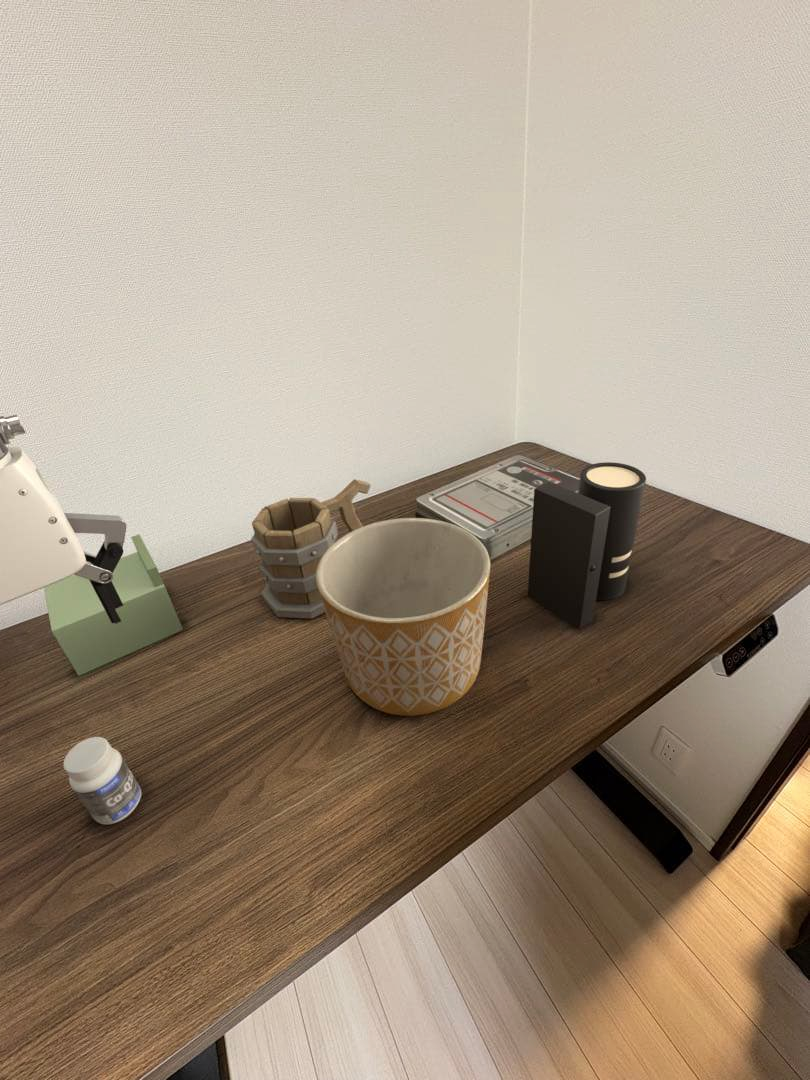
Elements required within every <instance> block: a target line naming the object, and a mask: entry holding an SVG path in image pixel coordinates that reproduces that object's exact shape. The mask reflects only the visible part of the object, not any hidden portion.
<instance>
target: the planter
mask: <svg viewBox="0 0 810 1080" xmlns="http://www.w3.org/2000/svg"><path fill="white" fill-rule="evenodd" d="M490 573H491V560H490V558H489V555H488V552H487V550H486V548H485V547H484V545H483V544H482V543H481V542H480V541H479V540H478V539H477V538H476V537H475V536H474V535H472V534H471V533H470V532H468V531H466V530H464V529H463V528H460V527H458V526H456V525H453V524H450V523H447V522H443V521H439V520H433V519H425V518H415V517H401V518H400V517H399V518H392V519H386V520H381V521H376V522H373V523H370V524H367V525H364V526H363V527H361V528H359V529H356V530H354V531H352V532H350V531H349V532H348V533H346V534H345V535H343V536H341V537H340V538H339V539H336V540H335V543H334V544H333V545H332V546H330V547H329V549H328V550H327V551H326V552H325V553H324V555H323V556H322V558H321V559H320V561H319V564H318V566H317V570H316V583H317V586H318V590H319V593H320V596H321V599H322V602H323V606H324V609H325V612H324V613H325V615H326V619H327V621H328V625H329V628H330V631H331V634H332V638H333V641H334V645H335V647H336V651H337V654H338V657H339V660H340V664H341V666H342V670H343V673H344V676H345V679H346V682H347V684H348V685H349V687H350V689H351V690H352V692H353V693H354V694H355V695H356V696H357V697H358V699H360V700H361V701H363V703H365V704H366V705H368V706H370V707H371V708H373V709H375V710H378V711H380V712H383V713H386V714H390V715H396V716H401V717H402V716H403V717H404V716H405V717H413V716H415V717H416V716H423V715H424V716H425V715H427V714H428V715H429V714H432V713H436V712H438V711H441V710H443V709H446V708H447V707H449V706H451V705H453V704H454V703H456V702H458V701H459V700H460V699H461V698H462V697H464V696H465V695H466V694H467V692H468V691H469V690H470V689H471V688H472V686H473V685H474V683H475V681H476V679H477V677H478V675H479V671H480V669H481V663H482V652H483V642H484V634H485V624H486V613H487V604H488V593H489V585H490V576H491V575H490Z"/></svg>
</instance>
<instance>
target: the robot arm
mask: <svg viewBox="0 0 810 1080" xmlns="http://www.w3.org/2000/svg"><path fill="white" fill-rule="evenodd" d="M24 434H26V430H25V429H24V427H23V424H22V422H21V421H20V419H19V417H18V414H14V415H8V416H4V415H1V416H0V606H1V605H4V604H7V603H9V602H12V601H14V600H17V599H19V598H22V597H24V596H27V595H30V594H31V593H34V592H36V591H39V590H42V589H44V587H46V586H49V585H51V584H54V583H56V582H59V581H61V580H63V579H66V578H68V577H70V576H72V575H77V576H80V577H83V578H86V579H89V580H90V582H91V584H92V586H93V588H94V590H95V592H96V594H97V596H98V598H99V600H100V601H101V603H102V605H103V607H104V609H105V611H106V613H107V615H108V617H109V619H110V621H111V623H112V624H113V623H115V624H117V623H119V622H121V620H120V618H119V616H118V614H117V612H116V610H115V609H116V608H119V607H121V606H123V603H122V601H121V599H120V597H119V595H118V593H117V591H116V589H115V587H114V585H113V583H112V579H113V572H114V570H115V568H116V566H117V564H118V562H119V560H120V558H122V557H123V554H124V543H125V539H126V532H127V523H126V522H125V520H124V518H123V517H122V516H120V515H112V514H95V513H93V514H92V513H75V512H74V513H73V512H65V511H64V509H63V507H62V506H61V505H60V502H59V501H58V500H57V498H56V496H55V493H54V492H53V491H52V489H51V488H50V486H49V484H48V482H47V481H46V480H45V477H44V476H43V475H42V473H41V472H40V470H39V469H38V468H37V466H36V465H35V464H34V463H33V461H32V460H31V459H30V457H29V456H28V455H27V454H26V452H24V450H23V449H22V448H21V447H18V446H7V445H10V444H11V442H10V440H12V439H15V438H16V437H17V436H20V435H24ZM77 534H93V535H94V534H95V535H96V534H99V535H104V541H103V542H102V544H101V546H100V548H99V550H98V551H97V554H92V553H89V552H87V551H84V550H83V546H82V545H81V542H80V539H79V538H78V535H77Z"/></svg>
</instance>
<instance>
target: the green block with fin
mask: <svg viewBox="0 0 810 1080" xmlns="http://www.w3.org/2000/svg"><path fill="white" fill-rule="evenodd" d="M130 538H131V540H132V543H133V545H134V548H135V549H136V552H133V553H130V554H128V555H125V556H122V557H121V558H120V560H119V562H118V564H117V566H116V568H115V570H114V572H113V579H112V583H113V585H114V587H115V589H116V591H117V593H118V595H119V597H120V599H121V601H122V603H123V606H121V607H119V608H116V609H115V610H116V612H117V614H118V616H119V618H120V620H121V622H119V623H117V624H115V623H113V624H112V623H111V621H110V619H109V617H108V615H107V613H106V611H105V609H104V607H103V605H102V603H101V601H100V600H99V598H98V596H97V594H96V592H95V590H94V588H93V586H92V584H91V582H90V580H89V579H86V578H83V577H80V576H77V575H72V576H70V577H68V578H66V579H63V580H61V581H59V582H56V583H54V584H51V585H49V586H46V587H44V588H43V593H44V597H45V602H46V609H47V614H48V617H49V618H48V619H49V624H50V629H51V633H52V634H53V636H54V638H55V640H56V641H57V643H58V644H59V646H60V648H61V649H62V651H63V652H64V655H65V656H66V658H67V659H68V661H69V663H70V664H71V666H72V668H73V670H74V671H75V673H76V674H77V676H78V677H80V676H82V675H84V674H86V673H89V672H91V671H94V670H96V669H98V668H100V667H102V666H105V665H107V664H110V663H112V662H114V661H116V660H119V659H120V658H122V657H125V656H127V655H129V654H132V653H134V652H136V651H138V650H141V649H143V648H145V647H147V646H150V645H152V644H154V643H157V642H159V641H161V640H163V639H166V638H168V637H170V636H173V635H175V634H177V633H179V632H182V631H183V630H184V628H183V626H182V624H181V621H180V619H179V617H178V614H177V612H176V609H175V607H174V604H173V602H172V600H171V597H170V595H169V593H168V590H167V588H166V585H165V584H164V581H163V578H162V577H161V574H160V572H159V569H158V566H157V565H156V563H155V561H154V558H153V557H152V556H151V554H150V552H149V550H148V548H147V546H146V544H145V542H144V540H143V538H142V537H141V534H135V535H133V536H131V537H130Z"/></svg>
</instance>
